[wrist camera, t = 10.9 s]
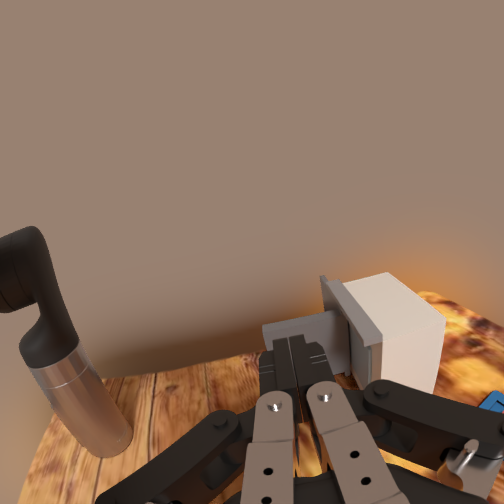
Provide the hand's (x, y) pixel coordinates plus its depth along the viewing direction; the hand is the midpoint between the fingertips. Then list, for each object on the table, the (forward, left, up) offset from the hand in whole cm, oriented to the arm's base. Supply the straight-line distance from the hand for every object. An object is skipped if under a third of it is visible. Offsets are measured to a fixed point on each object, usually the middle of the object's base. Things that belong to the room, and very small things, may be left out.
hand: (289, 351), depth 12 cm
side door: (+3, +27, -21) cm, 34 cm away
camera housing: (+12, +19, -22) cm, 32 cm away
